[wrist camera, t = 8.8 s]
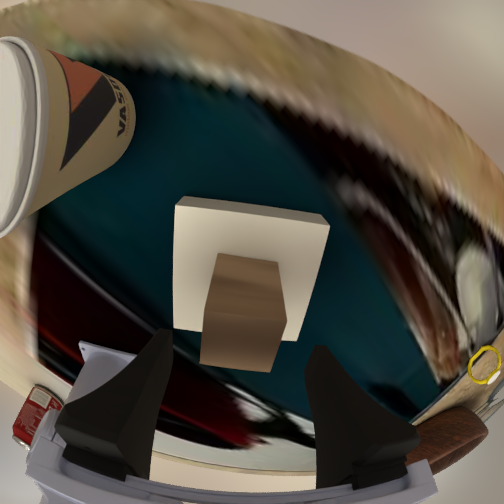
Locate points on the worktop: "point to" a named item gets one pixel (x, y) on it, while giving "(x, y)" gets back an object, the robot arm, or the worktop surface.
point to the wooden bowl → (447, 438)
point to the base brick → (244, 253)
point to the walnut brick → (243, 314)
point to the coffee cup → (54, 126)
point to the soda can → (33, 415)
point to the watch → (493, 374)
